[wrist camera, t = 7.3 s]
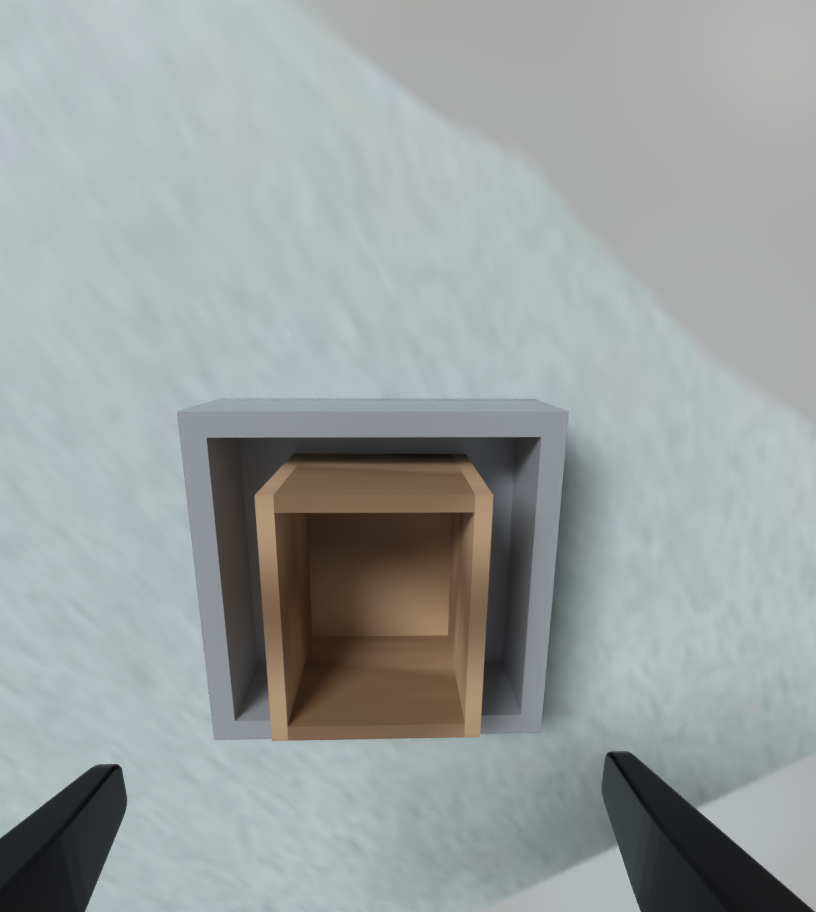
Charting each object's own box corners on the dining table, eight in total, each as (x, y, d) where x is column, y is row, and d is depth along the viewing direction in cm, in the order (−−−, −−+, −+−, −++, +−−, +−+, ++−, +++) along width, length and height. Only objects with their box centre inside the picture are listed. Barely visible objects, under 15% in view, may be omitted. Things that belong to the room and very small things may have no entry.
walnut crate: (457, 638, 19) (479, 736, 14) (302, 640, 19) (271, 740, 14) (465, 453, 17) (493, 495, 13) (293, 453, 17) (254, 495, 12)
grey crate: (515, 667, 20) (540, 732, 17) (244, 673, 20) (214, 740, 17) (534, 399, 18) (568, 411, 14) (219, 398, 17) (176, 411, 14)
